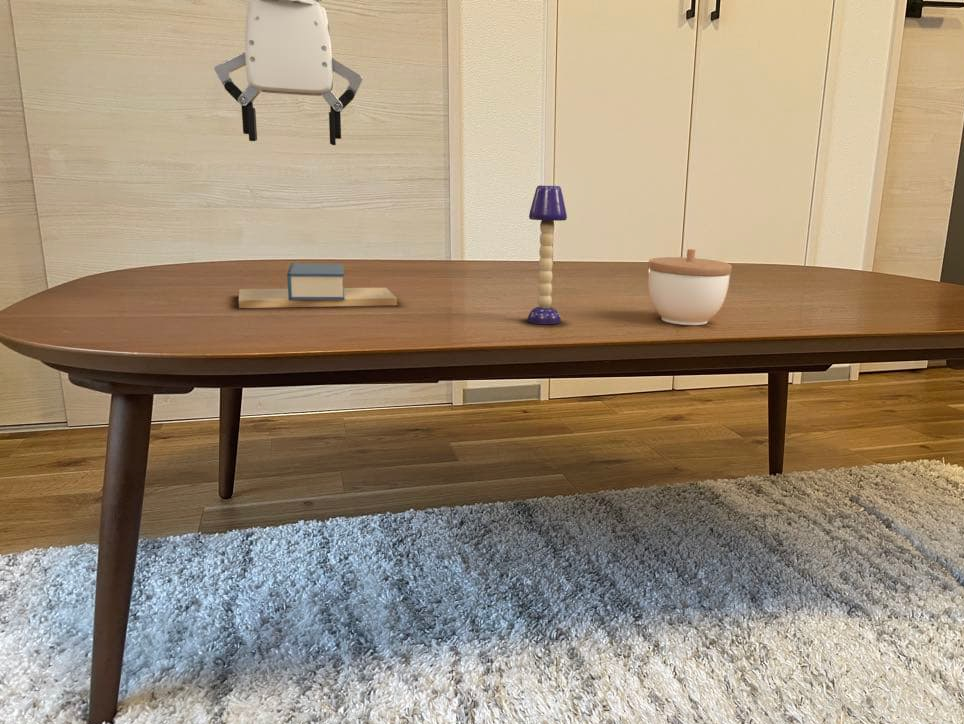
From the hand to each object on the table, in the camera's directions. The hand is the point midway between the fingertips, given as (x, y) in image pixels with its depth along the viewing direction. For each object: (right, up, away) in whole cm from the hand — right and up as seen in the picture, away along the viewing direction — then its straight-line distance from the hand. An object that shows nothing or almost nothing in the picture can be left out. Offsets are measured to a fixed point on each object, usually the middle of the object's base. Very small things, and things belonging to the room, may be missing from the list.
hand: (293, 142), depth 98 cm
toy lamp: (+32, -23, +1) cm, 39 cm away
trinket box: (+50, -22, +6) cm, 55 cm away
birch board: (+1, -19, +8) cm, 20 cm away
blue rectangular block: (+1, -18, +7) cm, 19 cm away
